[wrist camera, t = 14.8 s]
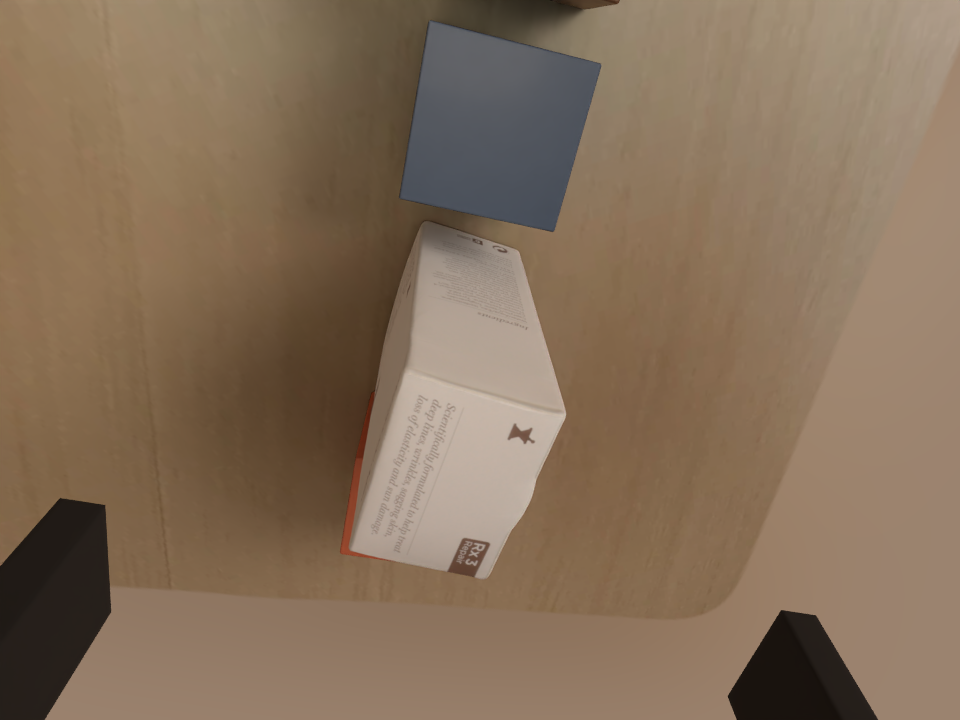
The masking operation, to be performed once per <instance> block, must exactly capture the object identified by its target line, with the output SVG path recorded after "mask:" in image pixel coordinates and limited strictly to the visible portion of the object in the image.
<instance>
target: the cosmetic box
mask: <svg viewBox="0 0 960 720" xmlns="http://www.w3.org/2000/svg"><path fill="white" fill-rule="evenodd" d="M565 417H566V411H565V407H564V403H563V400H562V397H561V393H560V390H559V387H558V383H557V380H556V376H555V373H554V369H553V366H552V363H551V359H550V356H549V352H548V349H547V346H546V342H545V339H544V336H543V332H542V329H541V325H540V322H539V319H538V315H537V312H536V309H535V305H534V302H533V298H532V295H531V291H530V288H529V284H528V281H527V277H526V274H525V270H524V267H523V263H522V261H521V257H520V254H519V252H518V251H517V250H516V249H513V248H510V247H507V246H504V245H501V244H498V243H495V242H492V241H489V240H486V239H483V238H480V237H477V236H474V235H471V234H468V233H465V232H462V231H459V230H456V229H452V228H449V227H446V226H443V225H440V224H436V223H433V222H431V221H425V222H423V223H422V224H421V226H420V228H419V231H418V233H417V236H416V239H415V241H414V244H413V247H412V249H411V252H410V255H409V257H408V260H407V263H406V266H405V269H404V272H403V275H402V278H401V282H400V285H399V288H398V291H397V295H396V298H395V302H394V306H393V309H392V313H391V316H390V320H389V324H388V328H387V332H386V336H385V340H384V344H383V350H382V356H381V361H380V367H379V372H378V378H377V384H376V389H375V395H374V401H373V405H372V409H371V417H370V422H369V428H368V434H367V440H366V445H365V451H364V456H363V462H362V468H361V474H360V481H359V488H358V496H357V503H356V510H355V515H354V522H353V527H352V532H351V537H350V542H349V550H350V551H353V552H357V553H361V554H365V555H369V556H373V557H377V558H382V559H387V560H391V561H396V562H401V563H406V564H411V565H416V566H421V567H426V568H431V569H435V570H441V571H446V572H451V573H456V574H462V575H467V576H472V577H475V578H479V579H486V578H487V577H488V576H489V575H490V574H491V571H492V569H493V567H494V565H495V563H496V561H497V559H498V557H499V554H500V552H501V550H502V548H503V546H504V544H505V542H506V540H507V538H508V536H509V534H510V532H511V530H512V529H513V528H514V526H515V525H516V524H517V523H518V521H519V520H520V518H521V517H522V515H523V514H524V512H525V510H526V508H527V506H528V504H529V503H530V500H531V498H532V495H533V492H534V488H535V483H536V479H537V477H538V475H539V473H540V470H541V468H542V466H543V464H544V462H545V460H546V458H547V456H548V454H549V452H550V449H551V447H552V445H553V443H554V441H555V438H556V436H557V434H558V432H559V430H560V428H561V426H562V424H563V422H564V419H565Z"/></svg>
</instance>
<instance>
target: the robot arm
mask: <svg viewBox="0 0 960 720" xmlns="http://www.w3.org/2000/svg"><path fill="white" fill-rule="evenodd" d="M110 602H111V601H110V583H109V565H108V547H107V529H106V511H105V505H101V504H94V503H88V502H82V501H75V500H69V499H62V498H60V499H59V500H58V501H57V502H56V503H55V505H54V506H53V507H52V508H51V509H50V510H49V511H48V513H47V514H46V515H45V516H44V517H43V518H42V519H41V520H40V522H39V523H38V524H37V525H36V526H35V527H34V528H33V530H32V531H31V532H30V533H29V534H28V535H27V536H26V538H25V539H24V540H23V541H22V542H21V543H20V544H19V546H18V547H17V548H16V549H15V550H14V551H13V552H12V554H11V555H10V556H9V557H8V558H7V559H6V560H5V561H4V563H3V564H2V565H1V566H0V720H45V718H46V717H47V715H48V713H49V712H50V710H51V709H52V707H53V705H54V704H55V702H56V700H57V699H58V697H59V696H60V694H61V692H62V690H63V689H64V687H65V686H66V684H67V683H68V681H69V679H70V678H71V676H72V674H73V673H74V671H75V670H76V668H77V666H78V665H79V663H80V662H81V660H82V658H83V657H84V655H85V653H86V652H87V650H88V648H89V647H90V645H91V644H92V642H93V640H94V639H95V637H96V636H97V634H98V632H99V631H100V629H101V627H102V626H103V624H104V623H105V621H106V619H107V618H108V616H109V614H110V613H111V603H110ZM728 698H729V701H730V704H731V706H732V708H733V711H734V714H735V716H736V719H737V720H878V719H877V717H876V715H875V714H874V712H873V710H872V709H871V707H870V705H869V704H868V702H867V700H866V699H865V697H864V695H863V694H862V692H861V690H860V689H859V687H858V685H857V684H856V682H855V680H854V679H853V677H852V675H851V674H850V672H849V670H848V669H847V667H846V665H845V664H844V662H843V660H842V658H841V657H840V655H839V653H838V652H837V650H836V648H835V647H834V645H833V643H832V642H831V640H830V638H829V637H828V635H827V634H826V632H825V630H824V628H823V627H822V625H821V623H820V622H819V620H818V618H817V617H816V615H809V614H803V613H796V612H790V611H784V610H781V611H780V613H779V615H778V616H777V618H776V619H775V621H774V623H773V624H772V626H771V627H770V629H769V631H768V632H767V634H766V635H765V637H764V639H763V640H762V642H761V643H760V645H759V647H758V648H757V650H756V652H755V653H754V655H753V656H752V658H751V659H750V661H749V663H748V664H747V666H746V668H745V669H744V671H743V672H742V674H741V676H740V677H739V679H738V680H737V682H736V683H735V685H734V687H733V688H732V690H731V692H730V693H729V695H728Z"/></svg>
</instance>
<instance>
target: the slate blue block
mask: <svg viewBox="0 0 960 720" xmlns="http://www.w3.org/2000/svg"><path fill="white" fill-rule="evenodd" d="M600 69H601V64H600V63H597V62H593V61H589V60H585V59H581V58H577V57H573V56H569V55H565V54H561V53H557V52H553V51H549V50H546V49H542V48H538V47H534V46H530V45H526V44H522V43H518V42H514V41H510V40H506V39H502V38H498V37H495V36H491V35H487V34H483V33H479V32H475V31H471V30H467V29H463V28H459V27H455V26H451V25H447V24H443V23H440V22H436V21H432V20H430V21H429V22H428V27H427V33H426V39H425V45H424V51H423V57H422V63H421V69H420V75H419V81H418V87H417V93H416V99H415V105H414V111H413V117H412V123H411V129H410V135H409V141H408V147H407V153H406V159H405V165H404V171H403V177H402V183H401V189H400V195H399V198H400V199H403V200H408V201H412V202H417V203H422V204H426V205H431V206H435V207H440V208H445V209H449V210H454V211H459V212H463V213H468V214H472V215H477V216H482V217H486V218H491V219H495V220H500V221H505V222H509V223H514V224H518V225H523V226H528V227H532V228H537V229H542V230H546V231H551V232H554V230H555V227H556V223H557V220H558V216H559V213H560V209H561V206H562V202H563V199H564V195H565V192H566V188H567V185H568V181H569V178H570V174H571V171H572V167H573V164H574V160H575V157H576V153H577V149H578V146H579V142H580V139H581V135H582V132H583V128H584V125H585V121H586V118H587V114H588V111H589V107H590V104H591V100H592V97H593V93H594V90H595V86H596V83H597V79H598V76H599V72H600Z"/></svg>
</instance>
